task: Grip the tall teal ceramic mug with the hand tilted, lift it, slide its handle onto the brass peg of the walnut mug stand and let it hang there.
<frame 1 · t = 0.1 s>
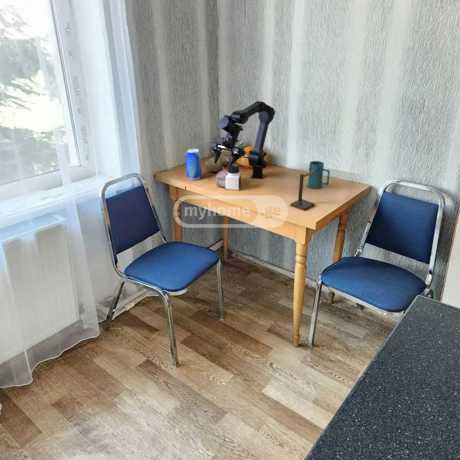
hand: (221, 165, 196), 15 cm above the table, tool tilted 35°, fingers open, 9 cm apart
beer can: (194, 178, 223), on the table
mug stand: (299, 202, 190), on the table
food item: (226, 184, 213), on the table
brown rounded lump: (216, 169, 237), on the table
mug: (314, 186, 210), on the table
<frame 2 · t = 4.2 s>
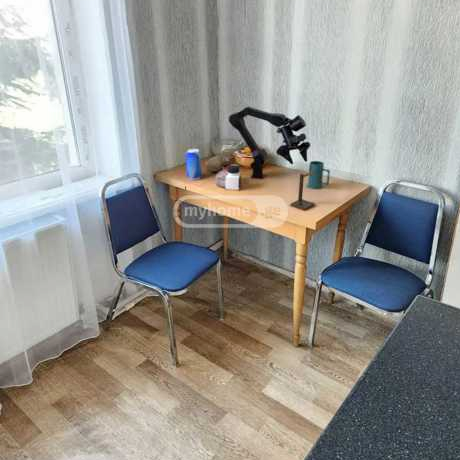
hand: (299, 162, 203), 14 cm above the table, tool tilted 40°, fingers open, 9 cm apart
nothing on the table moved.
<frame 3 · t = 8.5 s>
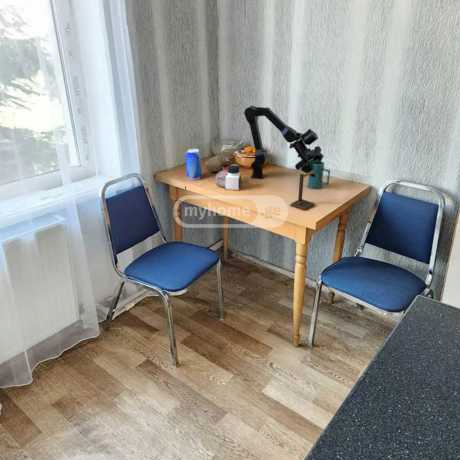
hand: (318, 174, 206), 7 cm above the table, tool tilted 45°, fingers closed on mug, 7 cm apart
mug: (314, 186, 210), on the table, touching gripper
everything else where it was.
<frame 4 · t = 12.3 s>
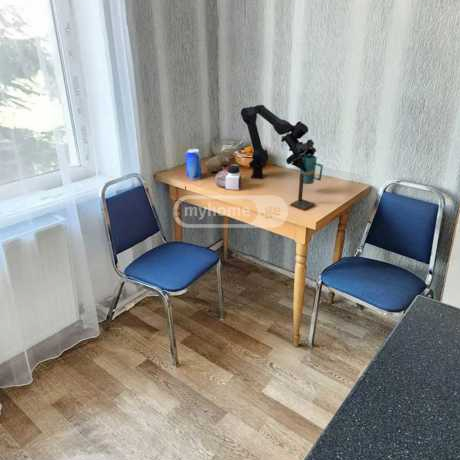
hand: (310, 169, 197), 12 cm above the table, tool tilted 45°, fingers closed on mug, 7 cm apart
mug: (306, 181, 200), point 6 cm above the table, touching gripper
everything else where it was.
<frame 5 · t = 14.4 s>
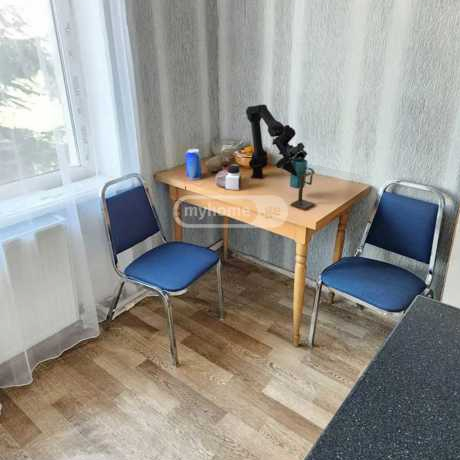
hand: (300, 173, 191), 12 cm above the table, tool tilted 45°, fingers closed on mug, 7 cm apart
mug: (297, 186, 195), point 6 cm above the table, touching gripper
everything else where it was.
when the fingers open (11 cm above the table, at t = 15.9 s): mug moves 10 cm and tips over, point 3 cm above the table.
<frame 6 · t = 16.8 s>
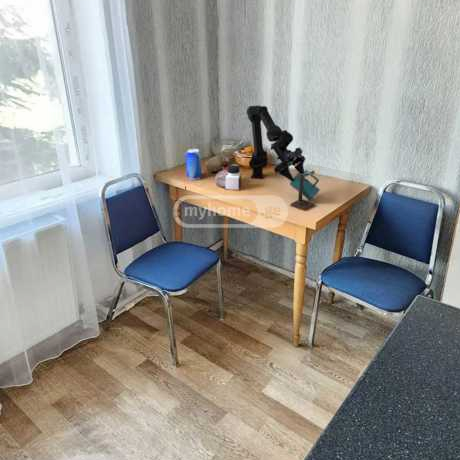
hand: (299, 178, 192), 10 cm above the table, tool tilted 45°, fingers open, 9 cm apart
mug: (315, 195, 190), point 3 cm above the table, tilted 60°
everything else where it was.
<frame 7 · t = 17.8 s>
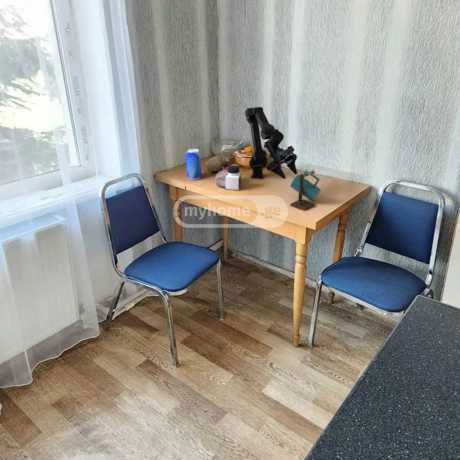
hand: (290, 176, 195), 10 cm above the table, tool tilted 45°, fingers open, 9 cm apart
mug: (316, 195, 189), point 4 cm above the table, tilted 65°, touching mug stand
everything else where it was.
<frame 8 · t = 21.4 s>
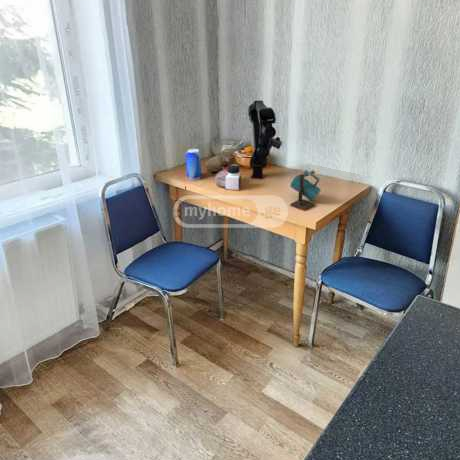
hand: (264, 163, 205), 13 cm above the table, tool pointing down, fingers open, 9 cm apart
nothing on the table moved.
at the end: mug touching mug stand; the gripper is holding nothing; mug inside the target area on the mug stand (6.7 cm from its centre), point 3.6 cm above the mug stand's base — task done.
